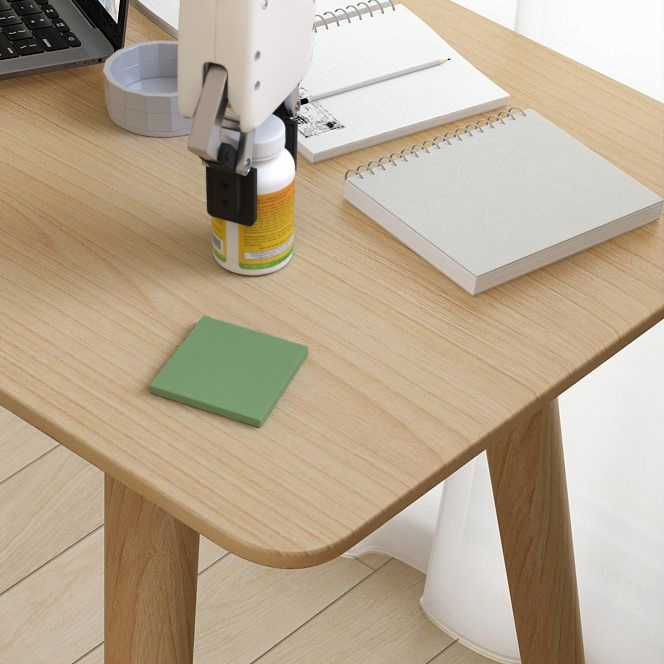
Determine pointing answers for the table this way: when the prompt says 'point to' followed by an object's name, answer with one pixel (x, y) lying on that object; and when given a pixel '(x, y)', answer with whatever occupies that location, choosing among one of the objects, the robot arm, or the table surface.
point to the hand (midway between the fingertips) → (252, 191)
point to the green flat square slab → (230, 371)
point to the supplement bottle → (261, 208)
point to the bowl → (145, 89)
